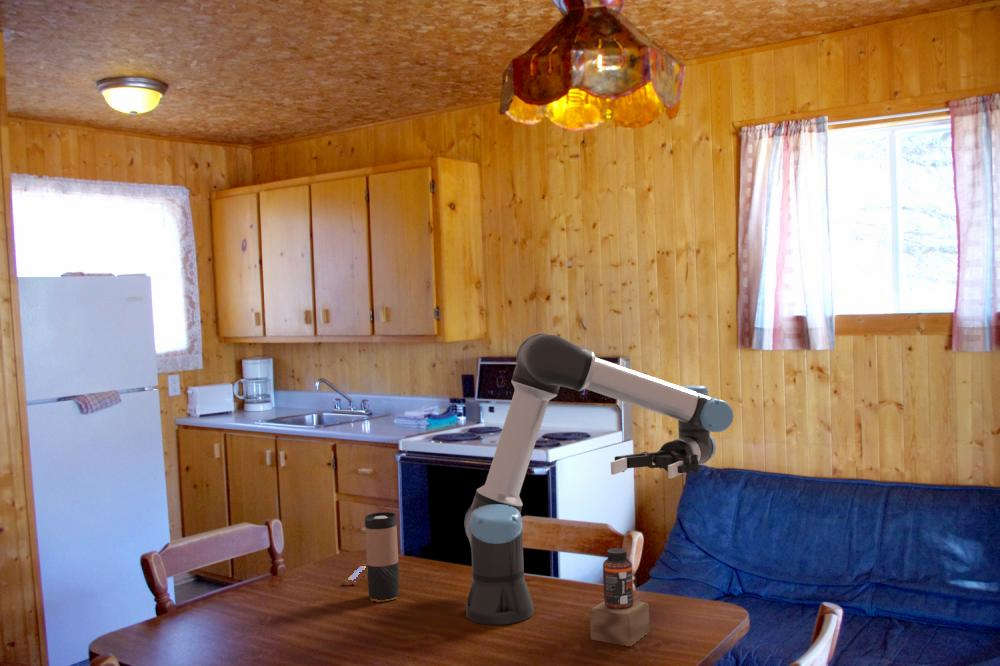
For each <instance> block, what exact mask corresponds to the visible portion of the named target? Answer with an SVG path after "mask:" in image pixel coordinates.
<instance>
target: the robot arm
mask: <svg viewBox="0 0 1000 666" xmlns="http://www.w3.org/2000/svg"><path fill="white" fill-rule="evenodd" d="M511 384H512V386H513V388H514V392H513V395H512V399H511V402H510V404H509V408H508V412H507V414H506V417H505V421H504V423H503V427H502V430H501V433H500V436H499V439H498V443H497V446H496V448H495V452H494V456H493V458H492V462H491V464H490V467H489V471H488V474H487V477H486V480H485V483H484V484H483V485H482V486H480V487H479V488H477V489H476V491H475V495H474V498H473V501H472V504H471V505H470V506H469V508H468V510H467V511H466V513H465V517H464V522H463V523H464V530H465V535H466V538H468V541H469V544H470V552H471V554H470V555H471V556H470V557H471V571H472V574H471V575H472V581H471V585H470V589H469V593H468V596H467V600H466V605H465V611H466V612H465V613H466V615H465V616H466V618H467V619H469V621H472V622H474V623H477V624H481V625H489V626H490V625H494V626H496V625H497V626H498V625H509V624H515V623H519V622H523V621H525V620H527V619H529V618H531V617H533V615H534V612H535V610H534V601H533V599H532V596H531V594H530V590H529V587H528V585H527V582H526V579H525V570H524V569H525V568H524V567H525V566H524V546H523V545H524V544H523V529H524V527H523V526H524V525H523V524H524V523H523V520H522V514H521V512H522V508H523V502H522V499H521V497H520V494H521V490H522V487H523V483H524V481H525V478H526V474H527V472H528V469H529V466H530V465H529V464H530V461H531V458H532V455H533V452H534V448H535V446H536V443H537V440H538V437H539V433H540V430H541V427H542V423H543V420H544V417H545V415H546V411H547V408H548V404H549V401H551V400H552V399H555V398H556V397H557V396H558V394H559V390H560V388H561V387H563V388H568V389H572V390H574V391H576V392H581V391H583V390H588V391H591V392H594V393H596V394H600V395H603V396H607V397H609V398H612V399H614V400H617V401H621V402H624V403H626V404H630V405H633V406H635V407H639V408H642V409H645V410H648V411H651V412H654V413H656V414H659V415H663V416H665V417H668V418H670V419H675V420H677V425H678V427H677V428H678V438H675V439H674V440H671V441H668V442H665V443H664V444H663V445H662V446H661V447H660V449H659V450H658V451H654V452H648V451H642V452H639V453H633V454H625V455H624V454H623V455H617V456H614V461H611V462H610V474H611V475H614V476H615V475H616V474H620V473H625V471H628V469H634V468H635V469H637V468H647V467H648V468H650V469H658V468H659V469H663V470H665V471H666V472H667V474H668V479H673V478H676V477H679V476H681V475H683V474H684V473H685V474H689V473H691V471H692V473H694V474H699V473H700V470H699V469H700V468H699V467H700V465H703V464H705V463H707V462H708V461H709V460H711V459H712V458H713V457H714V456H715V453H716V451H717V445H716V441H715V439H714V438H713V436H712V435H711V433H720V432H721V433H722V432H724V431H727V430H728V429H729V428H730V426H731V425H732V423H733V420H734V411H733V408H732V407H731V406H730V404H729V403H728V402H727V401H725V400H723V399H720V398H717V397H712V396H709V391H708V388H707V387H706V386H705V385H684V386H683V385H682V386H680V385H678V384H676V383H675V384H674V383H671V382H668V381H666V380H663V379H660V378H657V377H654V376H652V375H648V374H645V373H642V372H639V371H636V370H634V369H632V368H631V369H630V368H628V367H625V366H622V365H619V364H617V363H613V362H611V361H608V360H606V359H602V358H599V357H597V356H596V355H595V353H594V351H592V350H590V349H586V348H583V347H581V346H579V345H577V344H575V343H573V342H570V341H569V340H568V339H565V338H563V337H561V336H559V335H555V334H551V333H549V334H548V333H537V334H534V335H531V336H529V337H527V338H526V339H525V340H524V341H523V342H522V343H521V344H520V345H519V347H518V349H517V352H516V365H515V367H514V370H513V374H512V378H511ZM710 432H711V433H710Z"/></svg>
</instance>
